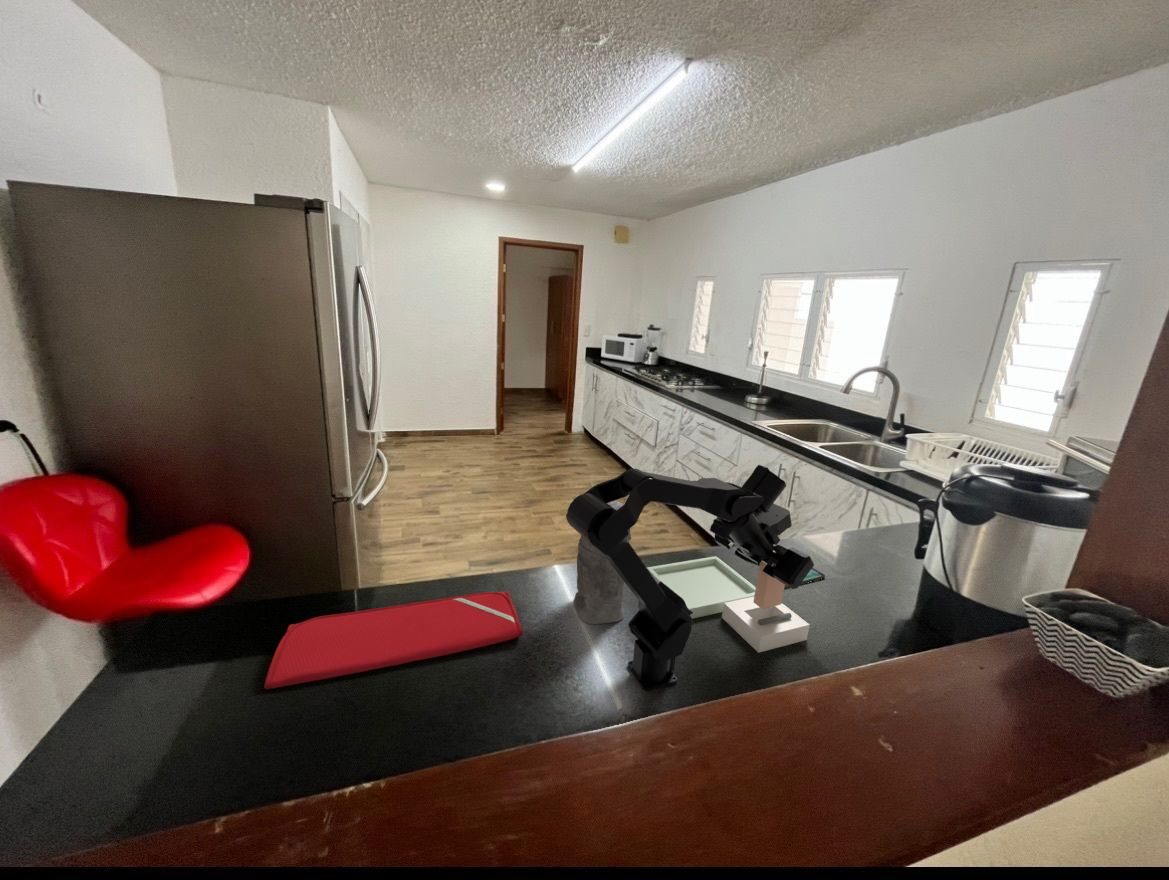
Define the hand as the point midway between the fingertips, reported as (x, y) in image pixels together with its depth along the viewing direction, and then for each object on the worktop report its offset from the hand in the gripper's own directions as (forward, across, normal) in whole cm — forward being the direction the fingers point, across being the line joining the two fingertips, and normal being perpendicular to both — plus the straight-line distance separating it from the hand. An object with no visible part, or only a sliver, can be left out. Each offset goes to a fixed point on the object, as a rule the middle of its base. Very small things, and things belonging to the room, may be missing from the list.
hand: (775, 570), depth 91 cm
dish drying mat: (-36, +28, +56) cm, 72 cm away
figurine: (-11, +20, +29) cm, 37 cm away
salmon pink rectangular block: (+4, 0, +6) cm, 7 cm away
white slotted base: (+8, 0, +10) cm, 13 cm away
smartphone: (+26, +11, -6) cm, 28 cm away
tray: (+7, +16, +11) cm, 21 cm away
